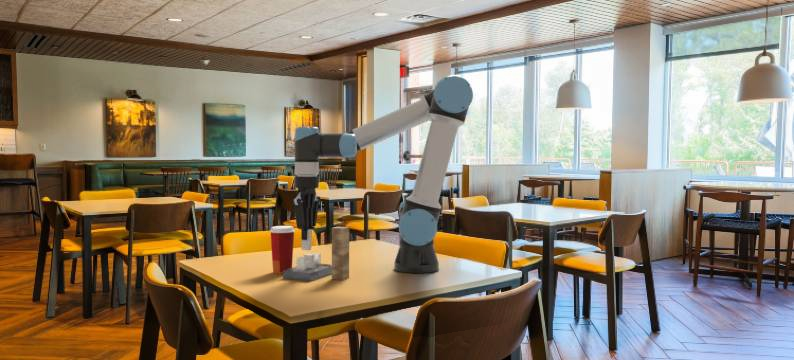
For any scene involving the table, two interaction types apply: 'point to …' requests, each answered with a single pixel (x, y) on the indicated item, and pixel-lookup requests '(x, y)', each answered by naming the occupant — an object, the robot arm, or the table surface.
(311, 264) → the breaker paddle
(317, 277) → the breaker board
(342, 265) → the mottled brown post
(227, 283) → the table surface
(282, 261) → the coffee cup
